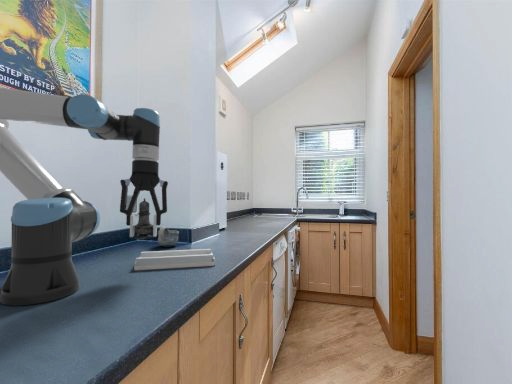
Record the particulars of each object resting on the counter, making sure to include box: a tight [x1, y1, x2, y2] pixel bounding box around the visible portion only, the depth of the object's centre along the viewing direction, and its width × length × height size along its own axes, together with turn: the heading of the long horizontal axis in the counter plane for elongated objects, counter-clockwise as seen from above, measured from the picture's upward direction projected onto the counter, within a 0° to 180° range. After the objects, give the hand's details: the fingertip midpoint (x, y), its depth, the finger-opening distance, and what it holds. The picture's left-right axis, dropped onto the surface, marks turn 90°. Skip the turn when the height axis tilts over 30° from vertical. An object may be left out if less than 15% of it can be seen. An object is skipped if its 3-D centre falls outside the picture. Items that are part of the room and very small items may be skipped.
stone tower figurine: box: [133, 198, 154, 240], centre depth 83 cm, size 6×6×12 cm
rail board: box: [133, 248, 216, 271], centre depth 97 cm, size 26×12×4 cm, turn 105°
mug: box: [157, 225, 180, 248], centre depth 128 cm, size 10×12×10 cm
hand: (143, 236), depth 83 cm, fingers closed on stone tower figurine, 6 cm apart
